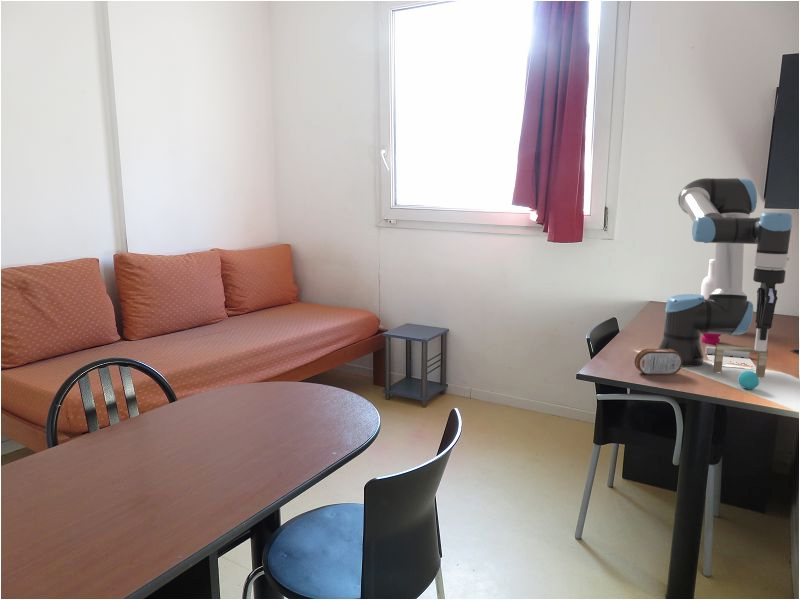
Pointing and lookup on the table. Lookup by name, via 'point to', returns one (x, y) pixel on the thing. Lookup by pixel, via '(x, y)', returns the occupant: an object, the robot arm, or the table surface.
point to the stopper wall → (728, 352)
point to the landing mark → (733, 360)
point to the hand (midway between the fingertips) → (760, 350)
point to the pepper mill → (710, 337)
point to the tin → (658, 361)
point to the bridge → (761, 354)
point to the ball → (748, 379)
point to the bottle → (708, 280)
